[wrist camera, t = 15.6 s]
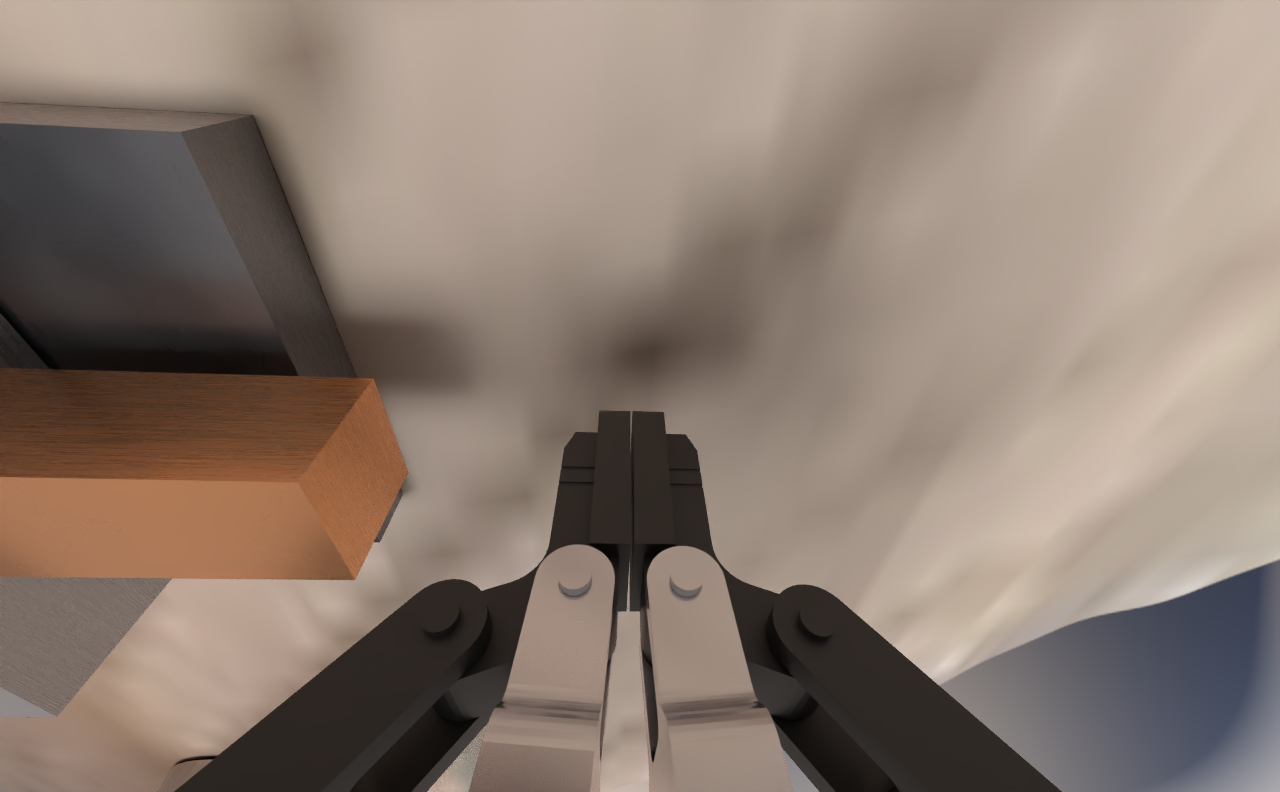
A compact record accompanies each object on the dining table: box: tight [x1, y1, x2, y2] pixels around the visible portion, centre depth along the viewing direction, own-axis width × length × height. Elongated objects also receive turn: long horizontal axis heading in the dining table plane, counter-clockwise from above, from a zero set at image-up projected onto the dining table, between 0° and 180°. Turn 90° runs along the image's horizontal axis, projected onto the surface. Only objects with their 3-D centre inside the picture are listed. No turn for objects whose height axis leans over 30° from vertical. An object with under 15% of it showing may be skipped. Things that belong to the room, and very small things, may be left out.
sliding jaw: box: [0, 313, 408, 717], centre depth 10 cm, size 12×10×5 cm
